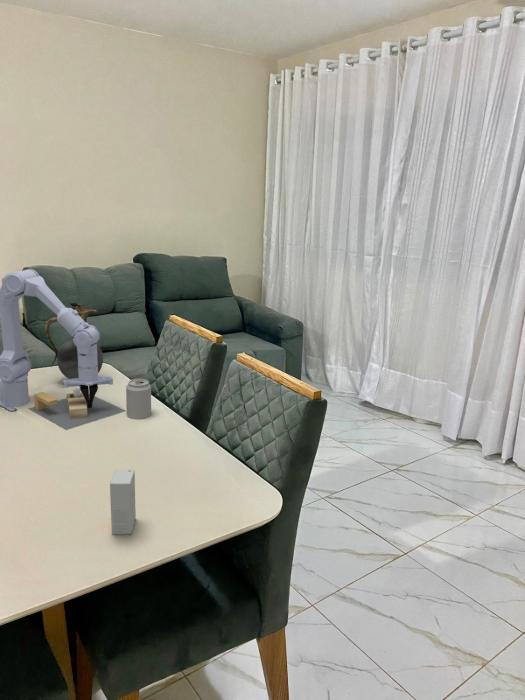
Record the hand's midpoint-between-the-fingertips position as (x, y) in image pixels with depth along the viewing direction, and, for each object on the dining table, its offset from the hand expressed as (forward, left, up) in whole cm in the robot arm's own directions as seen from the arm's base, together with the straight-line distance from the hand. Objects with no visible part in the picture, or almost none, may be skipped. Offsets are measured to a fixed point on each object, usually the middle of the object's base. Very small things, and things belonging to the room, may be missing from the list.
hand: (89, 406), depth 170 cm
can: (+13, +9, -2) cm, 16 cm away
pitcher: (-27, +12, -2) cm, 30 cm away
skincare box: (+57, -29, -2) cm, 64 cm away
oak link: (-4, -2, -1) cm, 4 cm away
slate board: (-3, -2, -2) cm, 5 cm away
